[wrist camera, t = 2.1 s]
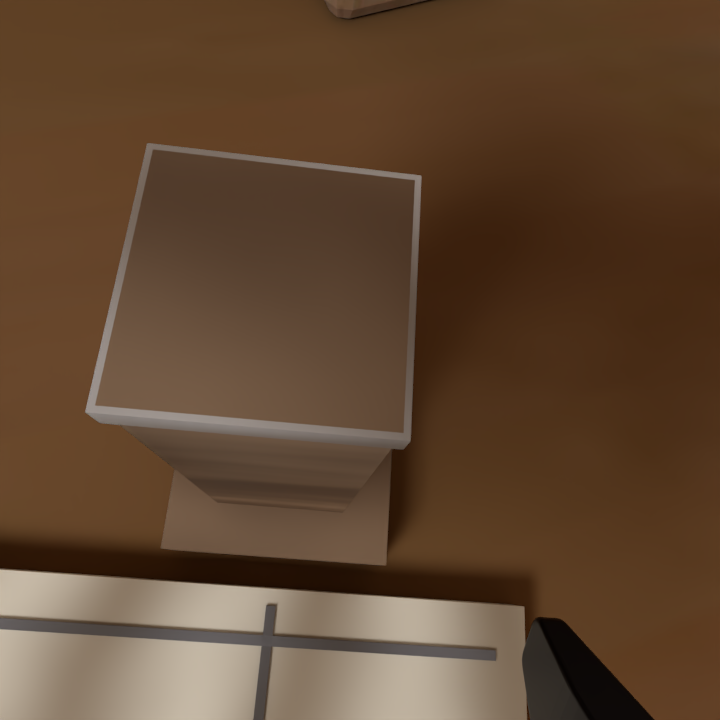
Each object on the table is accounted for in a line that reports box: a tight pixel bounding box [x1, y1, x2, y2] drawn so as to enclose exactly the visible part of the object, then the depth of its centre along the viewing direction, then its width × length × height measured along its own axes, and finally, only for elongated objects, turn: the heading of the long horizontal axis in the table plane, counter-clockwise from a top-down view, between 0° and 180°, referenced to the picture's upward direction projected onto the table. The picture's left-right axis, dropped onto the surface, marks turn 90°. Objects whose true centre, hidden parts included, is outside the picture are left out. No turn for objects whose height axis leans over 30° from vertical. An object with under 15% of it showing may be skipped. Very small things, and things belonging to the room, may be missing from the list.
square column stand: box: [85, 143, 421, 565], centre depth 15 cm, size 7×7×14 cm
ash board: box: [0, 568, 527, 720], centre depth 18 cm, size 26×8×1 cm, turn 86°
